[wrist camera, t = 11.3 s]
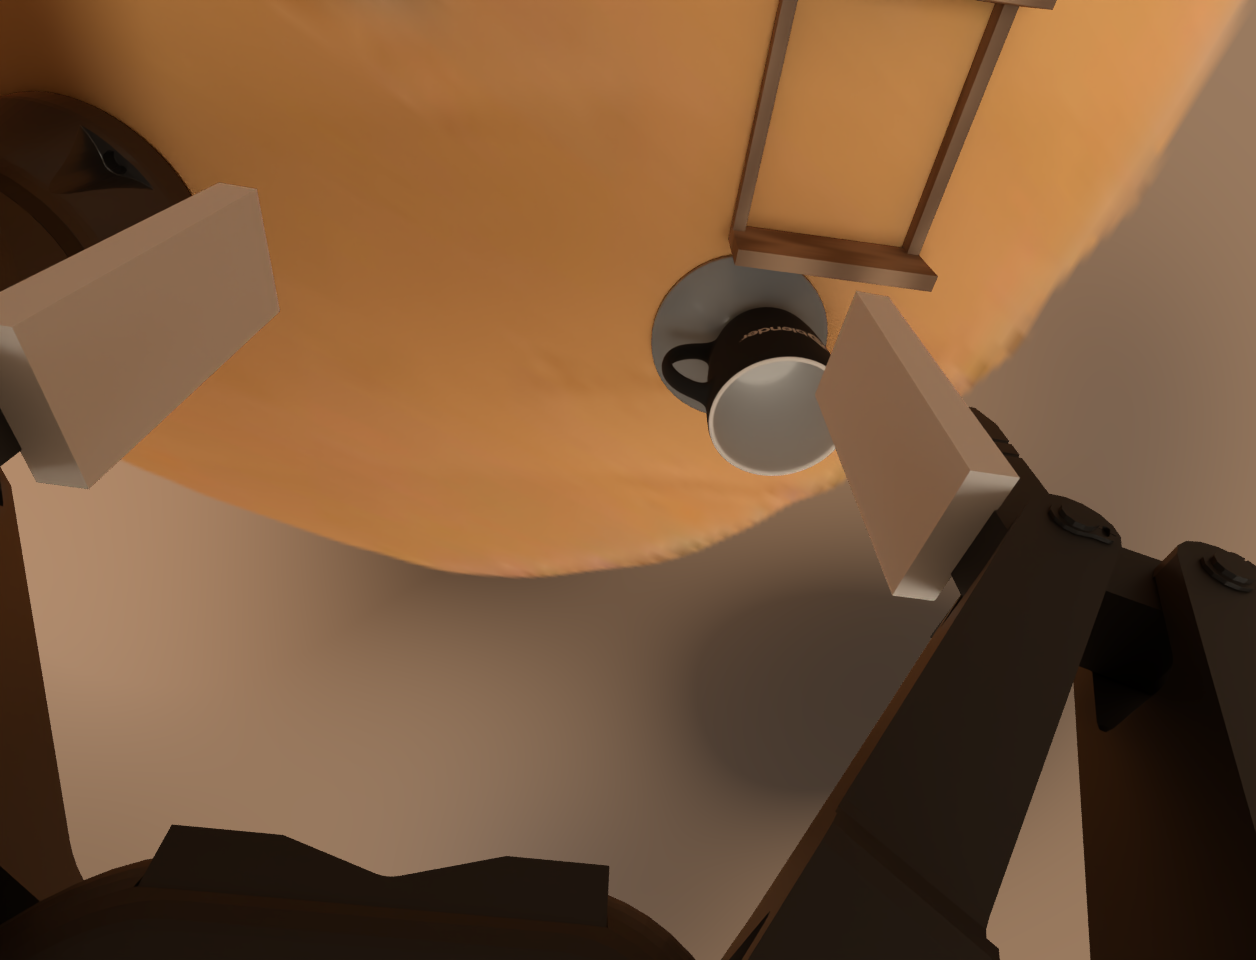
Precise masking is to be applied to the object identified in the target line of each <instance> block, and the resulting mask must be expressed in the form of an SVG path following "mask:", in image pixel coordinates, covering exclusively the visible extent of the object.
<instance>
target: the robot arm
mask: <svg viewBox="0 0 1256 960" xmlns="http://www.w3.org/2000/svg"><path fill="white" fill-rule="evenodd" d="M279 312H280V309H279V303H278V298H277V293H276V287H275V282H274V277H273V272H272V266H271V261H270V256H269V250H268V245H267V240H266V234H265V229H264V224H263V219H262V213H261V208H260V203H259V197H258V192H257V189H254V188H248V187H242V186H237V185H231V184H225V183H217V184H215V185H213V186H211V187H209V188H207V189H205V190H203V191H201V192H199V193H197V194H195V195H193V196H191V195H190V193H189V192H188V190H187V188H186V187H185V185H184V184H183V183H182V181H181V180H180V178H179V177H178V176H177V174H176V173H175V172H174V170H173V169H172V168H171V167H170V166H169V164H168V163H167V162H166V161H165V160H164V159H163V158H162V157H161V156H160V155H159V154H158V153H157V152H156V151H155V150H154V149H153V148H152V147H151V146H150V145H149V144H148V143H147V142H146V141H145V140H144V139H142V138H141V137H140V136H139V135H138V134H136V133H135V132H134V131H133V130H131V129H130V128H128V127H127V126H126V125H124V124H123V123H121V122H120V121H118V120H117V119H115V118H114V117H112V116H110V115H109V114H107V113H105V112H103V111H101V110H100V109H98V108H96V107H93V106H91V105H89V104H87V103H84V102H82V101H79V100H77V99H74V98H71V97H68V96H64V95H60V94H55V93H49V92H40V91H27V92H18V93H13V94H8V95H3V96H0V466H1V465H3V464H4V463H5V462H7V461H8V460H9V459H10V458H12V457H13V456H14V455H16V454H17V453H18V452H19V451H20V452H21V454H22V455H23V457H24V459H25V461H26V463H27V465H28V467H29V469H30V471H31V472H32V474H33V476H34V478H35V480H36V482H39V483H46V484H54V485H62V486H69V487H77V488H84V489H89V488H90V487H91V486H93V485H94V484H95V483H96V482H97V481H98V480H99V479H100V478H101V477H102V476H103V475H104V474H105V473H107V472H108V471H109V470H110V469H111V468H112V467H113V466H114V465H115V464H116V463H117V462H118V461H120V460H121V459H122V458H123V457H124V456H125V455H126V454H127V453H128V452H129V451H130V450H131V449H132V448H133V447H135V446H136V445H137V444H138V443H139V442H140V441H141V440H142V439H143V438H144V437H145V436H146V435H147V434H149V433H150V432H151V431H152V430H153V429H154V428H155V427H156V426H157V425H158V424H159V423H160V422H161V421H163V420H164V419H165V418H166V417H167V416H168V415H169V414H170V413H171V412H172V411H173V410H174V409H175V408H177V407H178V406H179V405H180V404H181V403H182V402H183V401H184V400H185V399H186V398H187V397H188V396H189V395H190V394H192V393H193V392H194V391H195V390H196V389H197V388H198V387H199V386H200V385H201V384H202V383H203V382H204V381H206V380H207V379H208V378H209V377H210V376H211V375H212V374H213V373H214V372H215V371H216V370H217V369H218V368H220V367H221V366H222V365H223V364H224V363H225V362H226V361H227V360H228V359H229V358H230V357H231V356H232V355H233V354H235V353H236V352H237V351H238V350H239V349H240V348H241V347H242V346H243V345H244V344H245V343H246V342H247V341H249V340H250V339H251V338H252V337H253V336H254V335H255V334H256V333H257V332H258V331H259V330H260V329H261V328H263V327H264V326H265V325H266V324H267V323H268V322H269V321H270V320H271V319H272V318H273V317H274V316H275V315H277V314H278V313H279ZM815 397H816V399H817V402H818V404H819V407H820V410H821V412H822V415H823V417H824V420H825V423H826V425H827V428H828V430H829V433H830V436H831V438H832V441H833V443H834V446H835V448H836V451H837V454H838V456H839V459H840V461H841V464H842V467H843V469H844V472H845V474H846V477H847V480H848V482H849V484H850V487H851V490H852V492H853V495H854V497H855V500H856V503H857V505H858V508H859V510H860V513H861V516H862V518H863V521H864V524H865V526H866V529H867V531H868V534H869V536H870V539H871V542H872V544H873V547H874V549H875V552H876V555H877V557H878V560H879V562H880V565H881V567H882V570H883V573H884V575H885V578H886V580H887V583H888V586H889V588H890V591H891V593H892V595H893V596H901V597H909V598H916V599H924V600H931V601H935V599H936V598H937V597H938V595H939V594H940V592H941V591H942V589H943V588H944V586H945V585H946V584H947V582H948V581H949V579H950V578H951V576H952V577H953V579H954V581H955V583H956V585H957V587H958V589H959V591H960V594H961V595H960V597H959V598H958V599H957V601H956V602H955V604H954V605H953V606H952V608H951V609H950V610H949V612H948V613H947V615H946V616H945V617H944V619H943V620H942V621H941V623H940V624H939V626H938V627H937V628H936V630H935V631H934V632H933V634H932V635H931V640H930V641H929V643H928V644H927V646H926V648H925V649H924V651H923V652H922V654H921V655H920V657H919V658H918V660H917V661H916V663H915V665H914V666H913V668H912V669H911V671H910V672H909V674H908V675H907V677H906V678H905V680H904V682H903V683H902V685H901V686H900V688H899V689H898V691H897V692H896V694H895V696H894V697H893V699H892V700H891V702H890V703H889V705H888V706H887V708H886V709H885V711H884V713H883V714H882V715H881V717H880V719H879V720H878V722H877V723H876V725H875V726H874V728H873V729H872V731H871V732H870V734H869V736H868V737H867V739H866V740H865V742H864V743H863V745H862V746H861V748H860V750H859V751H858V753H857V754H856V756H855V757H854V759H853V760H852V762H851V763H850V765H849V766H848V768H847V770H846V771H845V773H844V774H843V776H842V777H841V779H840V780H839V782H838V783H837V785H836V786H835V788H834V790H833V791H832V793H831V794H830V796H829V797H828V799H827V800H826V802H825V804H824V805H823V806H822V808H821V810H820V811H819V813H818V814H817V816H816V817H815V819H814V820H813V822H812V823H811V825H810V827H809V828H808V830H807V831H806V833H805V834H804V836H803V837H802V839H801V840H800V842H799V844H798V845H797V847H796V848H795V850H794V851H793V853H792V854H791V856H790V857H789V859H788V860H787V862H786V864H785V865H784V867H783V868H782V870H781V871H780V873H779V874H778V876H777V877H776V879H775V881H774V882H773V884H772V885H771V887H770V888H769V890H768V891H767V893H766V894H765V896H764V898H763V899H762V901H761V902H760V904H759V905H758V907H757V908H756V910H755V911H754V913H753V914H752V916H751V917H750V919H749V920H748V922H747V923H746V925H745V926H744V928H743V929H742V930H741V932H740V933H739V935H738V936H737V937H736V939H735V940H734V942H733V943H732V944H731V946H730V947H729V949H728V950H727V952H726V953H725V955H724V956H723V958H722V959H721V960H1000V958H999V949H998V948H997V947H996V946H995V945H994V944H992V943H991V942H990V941H989V940H988V939H987V938H986V928H987V924H988V920H989V916H990V913H991V911H992V908H993V905H994V902H995V900H996V897H997V894H998V891H999V888H1000V886H1001V883H1002V880H1003V877H1004V874H1005V872H1006V869H1007V866H1008V863H1009V860H1010V857H1011V854H1012V852H1013V849H1014V846H1015V844H1016V840H1017V838H1018V835H1019V832H1020V829H1021V827H1022V824H1023V821H1024V818H1025V815H1026V812H1027V810H1028V807H1029V804H1030V802H1031V799H1032V796H1033V793H1034V790H1035V787H1036V785H1037V782H1038V779H1039V776H1040V774H1041V771H1042V768H1043V765H1044V762H1045V759H1046V757H1047V754H1048V751H1049V748H1050V745H1051V743H1052V739H1053V737H1054V734H1055V731H1056V729H1057V726H1058V723H1059V720H1060V718H1061V715H1062V712H1063V709H1064V706H1065V704H1066V701H1067V698H1068V695H1069V692H1070V689H1071V687H1072V683H1073V682H1074V698H1075V714H1076V730H1077V747H1078V763H1079V779H1080V795H1081V812H1082V828H1083V844H1084V860H1085V877H1086V893H1087V909H1088V926H1089V940H1090V941H1089V942H1090V958H1091V960H1256V566H1255V565H1254V564H1252V563H1251V562H1249V561H1244V560H1245V558H1242V557H1241V556H1239V555H1238V554H1235V553H1232V552H1227V551H1225V550H1223V549H1221V548H1219V547H1216V546H1212V545H1209V544H1206V543H1202V542H1193V541H1186V542H1183V543H1182V544H1179V545H1178V546H1177V547H1176V548H1175V549H1174V550H1173V551H1172V552H1171V553H1170V554H1169V555H1168V556H1167V557H1166V558H1165V559H1164V560H1163V561H1160V560H1157V559H1154V558H1151V557H1149V556H1146V555H1143V554H1140V553H1137V552H1134V551H1131V550H1128V549H1125V548H1122V546H1121V537H1120V535H1119V534H1118V532H1117V531H1116V530H1115V528H1114V527H1113V525H1112V524H1110V523H1109V522H1108V521H1107V520H1106V519H1105V518H1103V517H1102V516H1101V515H1100V514H1098V513H1097V512H1095V511H1093V510H1092V509H1090V508H1088V507H1086V506H1085V505H1083V504H1081V503H1079V502H1076V501H1074V500H1071V499H1069V498H1066V497H1062V496H1058V495H1052V494H1049V493H1048V492H1047V490H1046V489H1045V488H1044V487H1043V485H1042V484H1041V483H1040V481H1039V480H1038V479H1037V477H1036V476H1035V475H1034V473H1033V472H1032V471H1031V469H1030V468H1029V467H1028V466H1027V464H1026V463H1025V462H1024V460H1023V459H1022V458H1019V454H1018V452H1017V451H1016V450H1015V448H1014V447H1013V446H1012V444H1008V442H1009V440H1008V439H1007V438H1006V436H1005V435H1004V434H1003V433H1002V431H1001V430H1000V429H999V427H998V426H997V425H996V424H995V423H994V422H993V421H991V420H990V419H989V418H987V417H986V416H985V415H983V414H982V413H981V412H980V411H978V410H977V409H976V408H972V407H968V406H967V404H966V403H965V402H964V400H963V399H962V397H961V396H960V395H959V393H958V392H957V390H956V389H955V388H954V386H953V385H952V384H951V382H950V381H949V379H948V378H947V377H946V375H945V374H944V373H943V371H942V370H941V368H940V367H939V366H938V364H937V363H936V362H935V360H934V359H933V357H932V356H931V355H930V353H929V352H928V350H927V349H926V348H925V346H924V345H923V344H922V342H921V341H920V339H919V338H918V337H917V335H916V334H915V333H914V331H913V330H912V328H911V327H910V326H909V324H908V323H907V322H906V320H905V319H904V317H903V316H902V315H901V313H900V312H899V311H898V309H897V308H896V306H895V305H894V304H893V302H892V301H891V299H890V298H889V297H888V296H882V295H876V294H870V293H865V292H859V291H856V292H855V295H854V297H853V300H852V302H851V305H850V308H849V310H848V313H847V315H846V318H845V320H844V323H843V325H842V328H841V330H840V333H839V335H838V338H837V340H836V343H835V345H834V348H833V350H832V353H831V355H830V358H829V360H828V363H827V365H826V368H825V370H824V373H823V375H822V378H821V380H820V383H819V386H818V388H817V391H816V393H815ZM608 882H609V866H605V865H595V864H585V863H574V862H563V861H553V860H542V859H532V858H521V857H510V856H505V857H499V858H494V859H488V860H483V861H477V862H472V863H467V864H462V865H456V866H451V867H445V868H440V869H434V870H429V871H424V872H418V873H413V874H408V875H402V876H395V877H387V876H381V875H378V874H375V873H373V872H371V871H368V870H366V869H363V868H361V867H359V866H356V865H353V864H351V863H349V862H347V861H344V860H342V859H339V858H337V857H335V856H332V855H330V854H327V853H325V852H323V851H320V850H318V849H315V848H313V847H310V846H308V845H306V844H303V843H301V842H299V841H296V840H294V839H291V838H289V837H286V836H284V835H276V834H266V833H255V832H245V831H234V830H224V829H213V828H203V827H191V826H181V825H171V827H170V829H169V831H168V833H167V834H166V836H165V838H164V840H163V842H162V843H161V845H160V847H159V849H158V851H157V852H156V854H155V856H154V858H153V859H147V860H143V861H140V862H136V863H133V864H129V865H126V866H122V867H119V868H115V869H112V870H109V871H107V872H104V873H102V874H99V875H96V876H94V877H91V878H89V879H86V880H83V878H82V876H81V874H80V872H79V870H78V867H77V865H76V862H75V859H74V857H73V853H72V849H71V845H70V840H69V834H68V828H67V821H66V816H65V810H64V804H63V797H62V791H61V785H60V779H59V773H58V767H57V761H56V755H55V749H54V743H53V737H52V731H51V725H50V719H49V713H48V707H47V701H46V694H45V689H44V682H43V676H42V671H41V664H40V658H39V652H38V646H37V640H36V634H35V628H34V622H33V616H32V610H31V604H30V598H29V592H28V586H27V580H26V573H25V567H24V562H23V555H22V549H21V543H20V537H19V532H18V525H17V519H16V513H15V507H14V501H13V495H12V489H11V485H10V483H9V481H8V480H7V478H6V476H5V474H4V473H3V471H2V469H1V467H0V960H695V959H694V957H693V956H692V955H691V954H690V953H689V952H688V951H687V950H686V949H685V948H684V947H683V946H682V945H681V944H680V943H679V942H678V941H677V940H676V939H675V938H674V937H673V936H672V935H671V934H670V933H669V932H668V931H667V930H665V929H664V928H663V927H661V926H660V925H659V924H658V923H656V922H655V921H654V920H652V919H651V918H650V917H649V916H647V915H645V914H644V913H642V912H640V911H639V910H637V909H635V908H634V907H632V906H630V905H629V904H627V903H625V902H623V901H621V900H618V899H616V898H614V897H611V896H609V895H608Z"/></svg>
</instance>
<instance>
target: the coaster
mask: <svg viewBox="0 0 1256 960" xmlns="http://www.w3.org/2000/svg"><path fill="white" fill-rule="evenodd" d="M760 307H773V308H779V309H783V310H786V311H788V312H790V313H792V314H794V315H796V316H797V317H798V318H800V319H801V320H802V321H804V322H805V323H806V324H807V325H808V326H809V327H810V328H811V329H812V330H813V331H814V333H815V334H816V335H817V336H818V337H819V339H820V340H821V341H822V343H823V344H824V345H825V347H826V342H827V334H828V332H827V318H826V313H825V310H824V307H823V304H822V301H821V299H820V297H819V295H818V293H817V291H816V290H815V288H814V287H813V285H812V284H811V283H810V281H809V280H808V279H807V278H806V277H805V276H804V275H803V274H795V273H788V272H781V271H773V270H766V269H758V268H751V267H744V266H736V265H735V264H734V260H733V256H732V255H728V256H723V257H719V258H716V259H713V260H710V261H708V262H706V263H704V264H702V265H700V266H698V267H696V268H695V269H693V270H691V271H690V272H688V273H687V274H686V275H685V276H683V277H682V278H681V279H680V280H679V281H678V282H677V283H676V284H675V285H674V286H673V287H672V288H671V289H670V291H669V292H668V293H667V295H666V296H665V298H664V299H663V301H662V303H661V305H660V307H659V309H658V311H657V314H656V317H655V320H654V324H653V329H652V355H653V359H654V364H655V366H656V369H657V372H658V374H659V376H660V378H661V379H662V381H663V383H664V384H665V385H666V387H667V388H668V389H669V390H670V391H671V392H672V393H673V394H674V395H675V396H676V397H677V398H678V399H680V400H681V401H682V402H684V403H685V404H687V405H689V406H690V407H692V408H694V409H697V410H699V411H701V412H705V413H706V408H705V406H704V405H703V404H701V403H700V402H698V401H696V400H694V399H692V398H689V397H687V396H685V395H683V394H681V393H679V392H678V391H676V390H675V389H673V388H672V387H671V386H670V385H669V384H668V383H667V381H666V380H665V378H664V376H663V374H662V361H663V358H664V356H665V355H666V353H667V352H668V351H669V350H671V349H672V348H674V347H676V346H679V345H683V344H691V343H708V342H712V341H714V340H716V339H717V337H718V336H719V334H720V333H721V331H722V330H723V328H724V327H725V326H726V325H727V324H728V323H729V322H730V321H731V320H732V319H734V318H735V317H736V316H738V315H740V314H741V313H743V312H746V311H748V310H751V309H755V308H760ZM672 365H673V367H674V368H675V369H676V370H677V371H678V372H679V373H680V374H682V375H683V376H685V377H687V378H689V379H691V380H693V381H696V382H702V383H704V382H707V377H708V369H709V366H708V364H707V363H706V362H704V361H702V360H698V359H686V360H681V361H677V362H675V363H673V364H672Z"/></svg>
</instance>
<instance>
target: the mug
mask: <svg viewBox="0 0 1256 960" xmlns="http://www.w3.org/2000/svg"><path fill="white" fill-rule="evenodd" d="M830 355H831V354H830V353H829V351H828V350H827V348H826V347H825V345H824V344H823V343H822V341H821V340H820V339H819V337H818V336H817V335H816V334H815V333H814V331H813V330H812V329H811V328H810V327H809V326H808V325H807V324H806V323H805V322H804V321H802V320H801V319H800V318H798V317H797V316H796V315H794V314H792V313H790V312H788V311H786V310H783V309H779V308H773V307H760V308H755V309H751V310H748V311H746V312H743V313H741V314H740V315H738V316H736V317H735V318H734V319H732V320H731V321H730V322H729V323H728V324H727V325H726V326H725V327H724V328H723V330H722V331H721V333H720V334H719V336H718V337H717V339H716V340H714V341H712V342H708V343H691V344H683V345H679V346H676V347H674V348H672V349H671V350H669V351H668V352H667V353H666V355H665V356H664V358H663V361H662V374H663V376H664V378H665V380H666V381H667V383H668V384H669V385H670V386H671V387H672V388H673V389H675V390H676V391H678V392H679V393H681V394H683V395H685V396H687V397H689V398H692V399H694V400H696V401H698V402H700V403H701V404H703V405H704V406H705V408H706V413H707V423H708V430H709V434H710V437H711V440H712V442H713V444H714V446H715V448H716V449H717V451H718V452H719V453H720V455H721V456H722V457H723V458H724V459H725V460H726V461H728V462H729V463H730V464H732V465H733V466H735V467H737V468H739V469H741V470H744V471H746V472H749V473H753V474H758V475H765V476H779V475H787V474H792V473H796V472H799V471H802V470H805V469H807V468H809V467H812V466H813V465H815V464H817V463H819V462H820V461H822V460H823V459H825V458H826V457H827V456H828V455H830V454H831V453H832V452H833V451H834V450H835V449H836V448H835V446H834V443H833V441H832V438H831V436H830V433H829V430H828V428H827V425H826V423H825V420H824V417H823V415H822V412H821V410H820V407H819V404H818V402H817V399H816V397H815V393H816V391H817V388H818V386H819V383H820V380H821V378H822V375H823V373H824V370H825V368H826V365H827V363H828V360H829V358H830ZM686 359H698V360H702V361H704V362H706V363H707V364H708V366H709V369H708V377H707V382H704V383H702V382H696V381H693V380H691V379H689V378H687V377H685V376H683V375H682V374H680V373H679V372H678V371H677V370H676V369H675V368H674V367H673V365H672V364H673V363H675V362H677V361H681V360H686Z"/></svg>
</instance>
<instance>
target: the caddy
mask: <svg viewBox="0 0 1256 960" xmlns="http://www.w3.org/2000/svg"><path fill="white" fill-rule="evenodd" d="M797 1H798V0H779V5H778V9H777V14H776V19H775V23H774V28H773V33H772V37H771V42H770V47H769V51H768V56H767V61H766V65H765V70H764V75H763V79H762V84H761V89H760V93H759V98H758V103H757V107H756V112H755V117H754V122H753V126H752V131H751V136H750V140H749V145H748V150H747V154H746V159H745V164H744V168H743V173H742V178H741V182H740V187H739V192H738V196H737V201H736V206H735V210H734V215H733V220H732V224H731V229H730V234H729V238H728V240H729V244H730V248H731V252H732V256H733V260H734V264H735V265H736V266H744V267H751V268H758V269H766V270H773V271H781V272H788V273H795V274H803V275H810V276H818V277H825V278H832V279H840V280H847V281H855V282H862V283H870V284H877V285H884V286H892V287H899V288H907V289H914V290H921V291H929V292H931V291H932V289H933V287H934V284H935V282H936V280H937V277H938V276H937V275H936V274H935V273H934V272H933V270H932V269H931V268H930V267H929V266H928V265H927V264H926V263H925V262H924V260H923V259H922V258H921V257H920V256H919V254H920V251H921V249H922V246H923V244H924V241H925V239H926V236H927V234H928V231H929V229H930V226H931V224H932V221H933V219H934V216H935V214H936V211H937V209H938V206H939V204H940V201H941V199H942V197H943V194H944V192H945V189H946V187H947V184H948V182H949V179H950V177H951V174H952V172H953V169H954V167H955V164H956V162H957V159H958V157H959V154H960V152H961V149H962V147H963V144H964V142H965V139H966V137H967V134H968V132H969V129H970V127H971V124H972V122H973V120H974V117H975V115H976V112H977V110H978V107H979V105H980V102H981V100H982V97H983V95H984V92H985V90H986V87H987V85H988V82H989V80H990V77H991V75H992V72H993V70H994V67H995V65H996V62H997V60H998V57H999V55H1000V52H1001V50H1002V47H1003V45H1004V43H1005V40H1006V38H1007V35H1008V33H1009V30H1010V28H1011V25H1012V23H1013V20H1014V18H1015V15H1016V13H1017V10H1018V8H1019V6H1021V7H1030V8H1040V9H1050V10H1053V8H1054V5H1055V3H1056V1H1057V0H978V1H984V2H991V3H996V4H995V6H994V9H993V11H992V14H991V17H990V19H989V22H988V24H987V27H986V30H985V32H984V35H983V37H982V40H981V43H980V45H979V48H978V51H977V53H976V56H975V58H974V61H973V64H972V66H971V69H970V71H969V74H968V77H967V79H966V82H965V84H964V87H963V90H962V92H961V95H960V97H959V100H958V103H957V105H956V108H955V111H954V113H953V116H952V118H951V121H950V124H949V126H948V129H947V131H946V134H945V137H944V139H943V142H942V144H941V147H940V150H939V152H938V155H937V157H936V160H935V163H934V165H933V168H932V171H931V173H930V176H929V178H928V181H927V184H926V186H925V189H924V191H923V194H922V197H921V199H920V202H919V204H918V207H917V210H916V212H915V215H914V217H913V220H912V223H911V225H910V228H909V231H908V233H907V236H906V238H905V241H904V244H903V246H902V248H901V247H894V246H887V245H880V244H872V243H865V242H858V241H850V240H843V239H836V238H829V237H821V236H814V235H807V234H800V233H792V232H785V231H778V230H770V229H763V228H756V227H749V226H746V225H747V220H748V216H749V212H750V207H751V203H752V199H753V194H754V190H755V185H756V181H757V177H758V172H759V168H760V163H761V159H762V155H763V150H764V146H765V142H766V137H767V133H768V128H769V124H770V120H771V115H772V111H773V106H774V102H775V98H776V93H777V89H778V85H779V80H780V76H781V71H782V67H783V63H784V58H785V54H786V50H787V45H788V41H789V36H790V32H791V28H792V23H793V19H794V14H795V10H796V6H797Z"/></svg>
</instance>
